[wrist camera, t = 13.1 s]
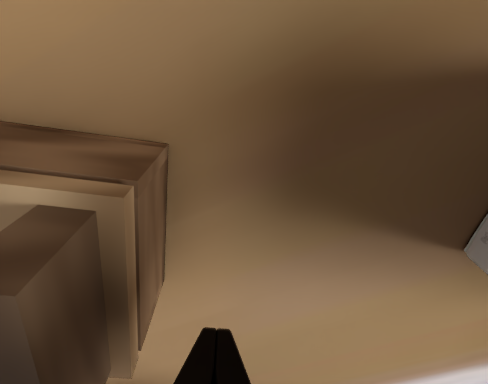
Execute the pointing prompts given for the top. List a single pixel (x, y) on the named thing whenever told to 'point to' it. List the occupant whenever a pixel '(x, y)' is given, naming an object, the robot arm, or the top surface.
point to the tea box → (479, 246)
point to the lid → (66, 280)
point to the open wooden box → (110, 171)
